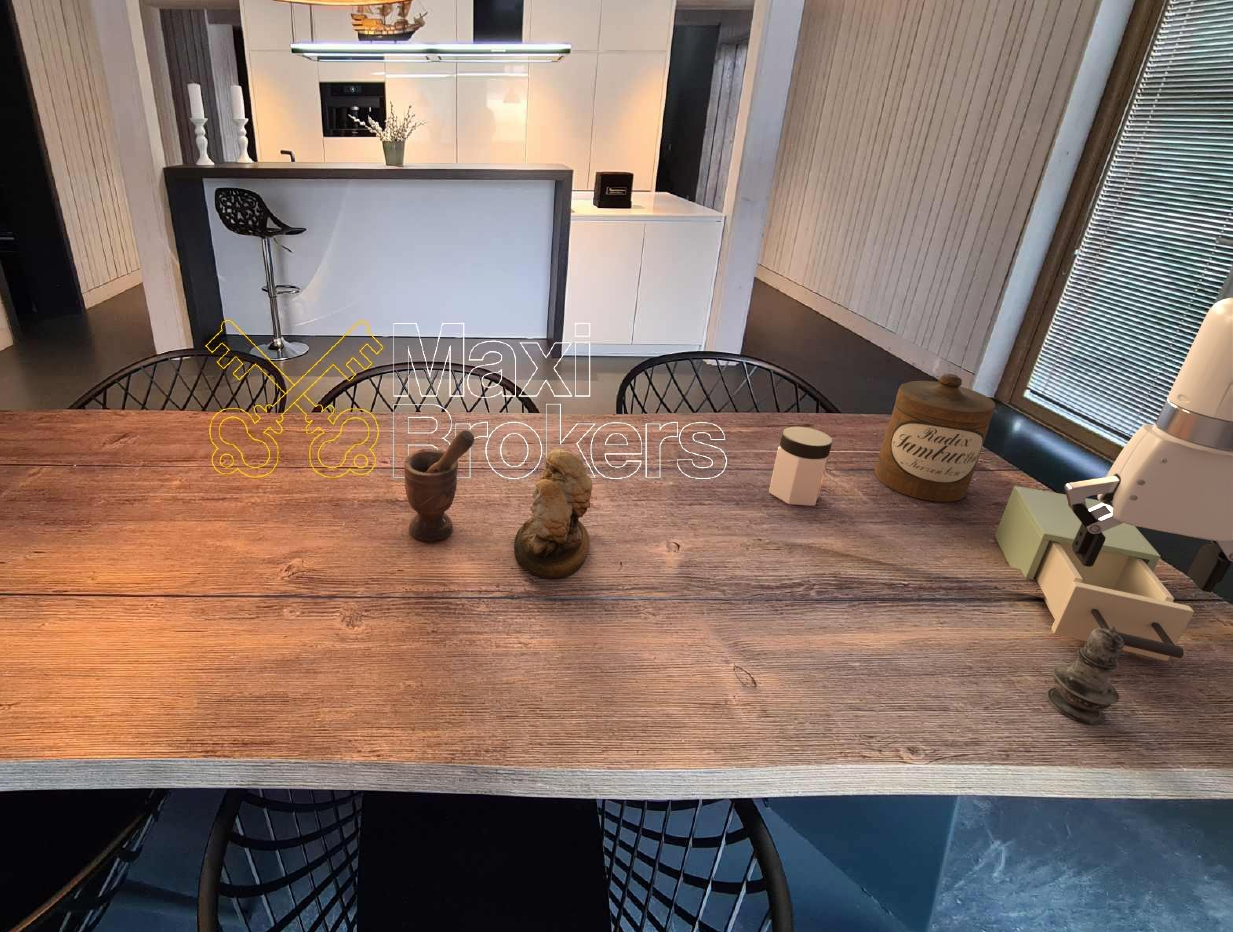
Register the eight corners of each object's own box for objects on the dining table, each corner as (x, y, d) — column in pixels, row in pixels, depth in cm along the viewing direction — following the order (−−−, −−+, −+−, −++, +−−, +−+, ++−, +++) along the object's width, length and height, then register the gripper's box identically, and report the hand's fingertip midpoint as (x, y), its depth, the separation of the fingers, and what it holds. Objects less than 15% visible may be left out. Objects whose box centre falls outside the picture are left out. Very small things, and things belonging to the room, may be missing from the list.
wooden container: (880, 492, 123) (912, 382, 115) (869, 458, 136) (898, 356, 127) (975, 510, 118) (1016, 396, 110) (955, 472, 131) (991, 367, 122)
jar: (810, 484, 126) (824, 427, 121) (827, 507, 119) (843, 447, 114) (761, 481, 127) (773, 424, 122) (775, 504, 119) (789, 444, 115)
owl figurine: (523, 511, 117) (528, 423, 110) (591, 520, 114) (600, 430, 107) (506, 574, 100) (510, 475, 94) (584, 586, 98) (594, 485, 91)
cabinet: (1131, 613, 94) (1161, 556, 90) (1021, 589, 98) (1044, 533, 94) (1091, 555, 106) (1115, 503, 102) (994, 536, 111) (1014, 485, 107)
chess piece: (1100, 699, 80) (1141, 620, 75) (1113, 735, 75) (1157, 653, 70) (1038, 679, 82) (1073, 602, 78) (1047, 713, 78) (1085, 632, 73)
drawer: (1190, 694, 79) (1220, 642, 76) (1069, 663, 84) (1092, 613, 80) (1121, 596, 96) (1144, 550, 92) (1023, 575, 100) (1041, 530, 97)
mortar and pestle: (479, 521, 114) (481, 414, 106) (470, 550, 106) (472, 438, 98) (413, 513, 115) (410, 408, 108) (400, 542, 108) (396, 431, 100)
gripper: (1309, 429, 64) (1226, 573, 71) (1085, 398, 71) (1029, 533, 77) (1366, 462, 58) (1269, 617, 65) (1115, 425, 64) (1050, 569, 71)
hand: (1138, 571), depth 71 cm, fingers open, 9 cm apart
